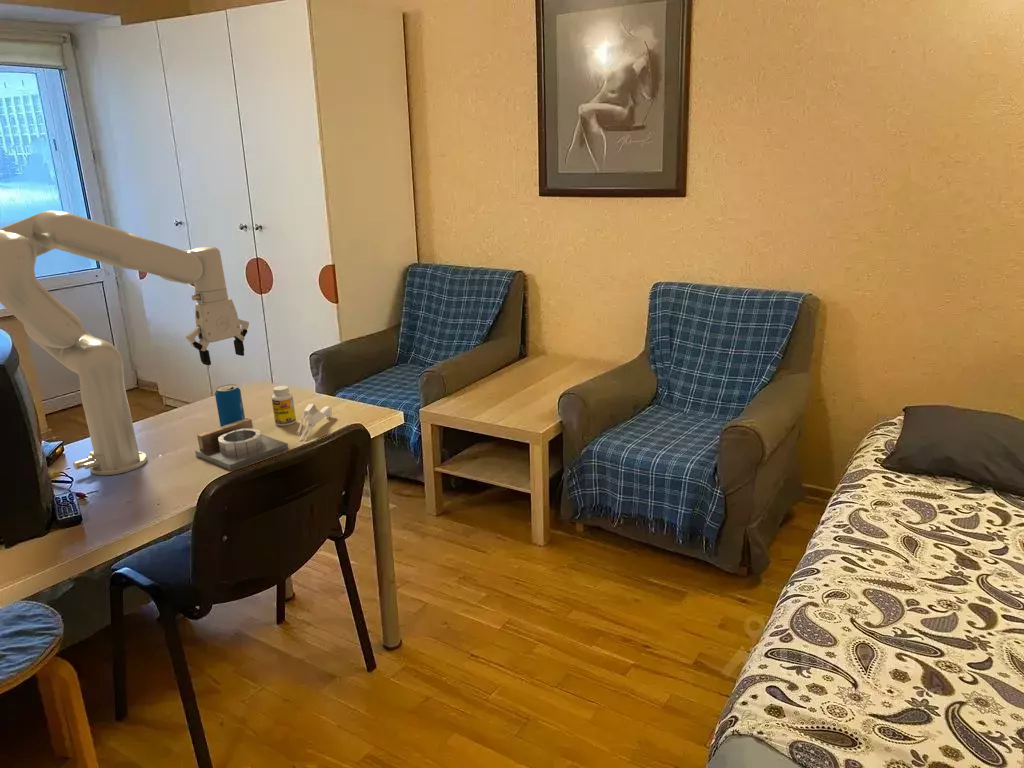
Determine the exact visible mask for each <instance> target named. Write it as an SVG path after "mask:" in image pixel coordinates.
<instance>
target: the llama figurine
mask: <svg viewBox="0 0 1024 768" xmlns="http://www.w3.org/2000/svg"><path fill="white" fill-rule="evenodd" d="M332 413H333V410H332V407H331V406H327V405H326V406H325V405H324V407H323V408H321V409H320V410H319V409H318V408H317V407H316V404H315V403H308V405H307V406H306V407H305V409H304V410H303V415H302V417H301V419H300V424H299V426H298V429H297V431H296V434H297V435H299V436H300V434H301V436H300V438H299V439H298V440H299V441H300V442H302V441H303V440H302V439H303V437H304V436H305V434H306V433H307V435H306V436H305V438H304V441H305V442H307V439H308V437H309V435H310V433H311V431H312V429H313V428H315V427H316V425H317V424H318V423H320V422H321V421H322V420H323V419H324V418H326V417H327V418H326V419H331V418H332V417H333V414H332ZM329 417H330V418H329ZM303 422H304V425H303ZM302 425H303V429H302ZM309 428H310V429H309ZM301 429H302V431H301ZM308 429H309V430H308ZM307 431H308V432H307Z"/></svg>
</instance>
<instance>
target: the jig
mask: <svg viewBox="0 0 1024 768" xmlns="http://www.w3.org/2000/svg"><path fill="white" fill-rule="evenodd" d="M252 421H253V420H252V419H251V418H248V417H247V418H246V417H245V419H243V420H240V421H237V422H234V423H231V424H228V425H225V426H222V427H221V426H219V427H217V428H213V429H210V430H207V431H205V432H201V433H198V434H197V435H196V436H197V441H198V448H199V449H196V450H194V452H195V457H197V458H199V457H200V459H201V458H202V460H204V461H207V462H209V463H211V464H213V465H216V466H217V467H218V466H219V467H221V468H223V469H225V470H228V471H230V472H232V471H235V470H237V469H239V468H242V467H245V466H247V465H250V464H253V463H255V462H258V461H261V460H263V459H267V458H268V457H271V456H274V455H277V454H279V453H281V452H284V451H288V450H289V443H287V442H284V441H282V440H278V439H276V438H273V437H270V436H268V435H264V434H262V431H261V430H260V429H256V428H254V427H253V422H252Z"/></svg>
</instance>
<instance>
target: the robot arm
mask: <svg viewBox="0 0 1024 768" xmlns="http://www.w3.org/2000/svg"><path fill="white" fill-rule="evenodd" d="M52 250H59V251H62V252H65V253H70V254H71V255H76V256H80V257H83V258H87V259H90V260H93V261H97V262H100V263H102V264H105V265H109V266H113V267H116V268H122V269H125V270H132V271H139V272H143V273H148V274H151V275H155V276H158V277H160V278H162V279H163V280H166V281H168V282H173V283H179V284H184V285H189V284H190V285H191V284H193V285H194V286H193V287H194V295H191V299H192V301H196V303H195V305H194V310H195V311H194V314H195V315H194V316H195V317H194V318H195V328H194V329H193V330H192V331H191V332H189V333H188V334H187V335H186V337H185V339H186V340H187V342H189V343H190V345H191V346H192V347H194V348H195V349H196V350H198V352H199V357H200V362H201V363H202V365H205V366H211V365H212V362H211V356H210V351H209V349H208V346H209V345H210V343H216V342H220V341H224V340H228V339H231V338H233V339H234V340H233V346H234V351H235V352H234V353H235V355H236V356H241V357H243V356H245V347H244V341H245V337H246V335H247V334H248V329H249V325H250V322H249V321H247V320H243V319H241V318H240V319H239V317H238V316H239V315H238V312H237V309H236V306H235V304H234V302H233V299H232V298H231V297H229V295H228V291H227V289H228V288H227V283H226V278H225V273H224V267H223V260H222V255H221V251H220V249H219V248H218V247H216V246H201V247H195V248H192V249H185V250H184V249H179V248H175V247H173V246H170V245H167V244H164V243H160V242H158V241H154V240H150V239H148V238H145V237H142V236H140V235H137V234H135V233H131V232H129V231H125V230H122V229H119V228H116V227H114V226H110V225H107V224H104V223H101V222H97V221H95V220H92V219H89V218H86V217H83V216H80V215H77V214H74V213H72V212H67V211H61V210H60V211H59V210H45V211H42V212H39V213H36V214H34V215H31V216H29V217H27V218H24V219H22V220H19V221H16V222H12V223H11V224H9V225H5V226H3V227H0V304H1V305H2V306H3V307H4V308H5V309H6V310H7V311H8V312H10V314H12V315H13V316H14V317H15V318H16V319H17V320H18V321H19V322H21V324H23V329H24V331H25V333H26V334H27V336H28V337H29V338H30V339H31V340H32V341H33V342H34V343H36V344H37V345H38V346H40V348H42V349H43V350H44V351H46V352H47V353H48V354H49V355H50V356H52V357H53V358H54V359H55V360H56V361H58V362H59V363H60V364H62V365H63V366H64V367H66V368H67V370H69V371H71V372H72V373H75V374H77V375H78V378H79V388H80V389H79V392H80V398H81V404H82V407H83V412H84V415H85V420H86V424H87V428H88V433H89V438H90V441H91V446H92V450H93V451H92V450H91V451H89V456H86V458H84V459H80V460H76V461H74V462H73V463H72V464H73V468H74V469H75V470H76V471H77V470H80V469H83V468H84V469H85V470H90V472H91V473H92V474H93V475H98V476H112V475H119V474H122V473H126V472H127V473H128V472H131V471H133V470H136V469H138V468H140V467H142V466H143V465H144V464H145V463H146V462H147V461H148V456H147V454H146V453H145V452H143V451H139V449H138V448H139V447H138V443H137V438H136V433H135V429H134V424H133V419H132V414H131V409H130V404H129V400H128V394H127V391H126V385H125V375H124V374H125V373H124V371H125V370H124V369H125V368H124V362H123V356H122V354H121V353H120V351H119V350H118V348H117V347H116V346H115V345H113V344H112V343H110V341H109V342H108V341H107V340H104V339H101V338H99V337H95V336H93V335H92V334H91V333H90V332H89V331H87V330H86V329H85V328H84V326H83V324H82V321H81V320H80V317H78V316H77V315H76V313H74V311H72V310H71V309H69V308H68V307H66V306H65V305H64V303H62V302H61V301H60V300H58V299H57V297H55V296H54V295H52V294H51V293H50V292H49V291H48V290H47V289H46V287H44V286H43V285H42V284H41V283H40V281H38V278H37V277H36V273H35V267H36V266H35V265H36V262H37V257H40V256H42V255H44V254H46V253H49V252H51V251H52ZM196 337H198V339H199V341H197V340H196Z"/></svg>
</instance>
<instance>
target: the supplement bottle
mask: <svg viewBox="0 0 1024 768" xmlns="http://www.w3.org/2000/svg"><path fill="white" fill-rule="evenodd" d="M271 402H272V410H273V416H274V423H275V425H276V426H279V427H285V426H290V425H293V424H295V423H296V421H297V419H296V417H297V416H296V411H295V410H296V409H295V404H294V403H295V402H294V396H293V394H292V392H290V389H289V386H287V385H278V386H275V387H274V388H273V395H272V396H271Z"/></svg>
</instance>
